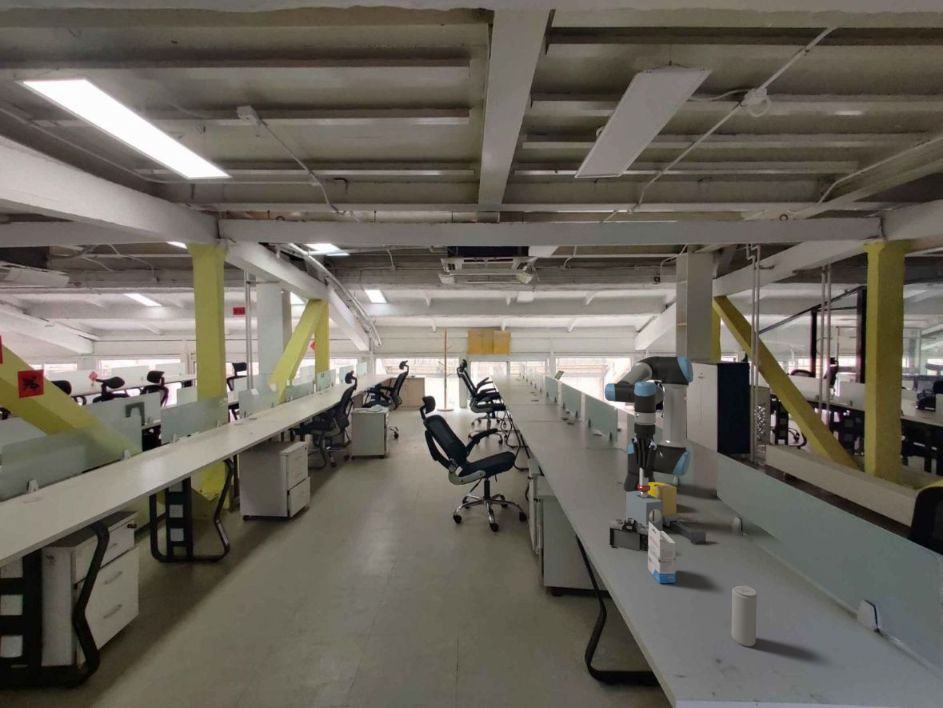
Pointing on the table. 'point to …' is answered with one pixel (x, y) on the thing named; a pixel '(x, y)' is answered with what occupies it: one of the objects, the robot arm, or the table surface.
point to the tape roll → (654, 487)
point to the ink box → (661, 555)
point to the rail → (689, 532)
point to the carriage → (668, 503)
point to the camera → (629, 535)
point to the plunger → (643, 491)
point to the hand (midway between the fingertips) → (644, 485)
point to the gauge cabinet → (644, 509)
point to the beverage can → (744, 615)
